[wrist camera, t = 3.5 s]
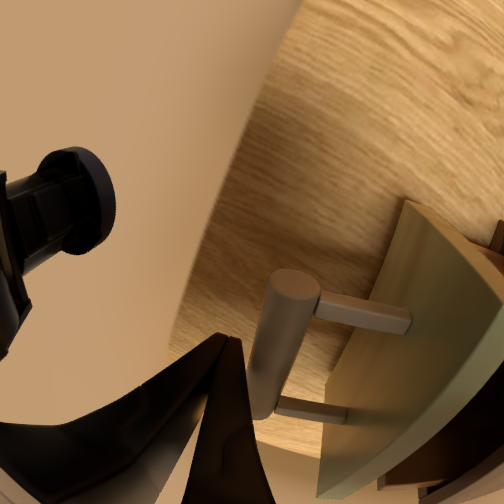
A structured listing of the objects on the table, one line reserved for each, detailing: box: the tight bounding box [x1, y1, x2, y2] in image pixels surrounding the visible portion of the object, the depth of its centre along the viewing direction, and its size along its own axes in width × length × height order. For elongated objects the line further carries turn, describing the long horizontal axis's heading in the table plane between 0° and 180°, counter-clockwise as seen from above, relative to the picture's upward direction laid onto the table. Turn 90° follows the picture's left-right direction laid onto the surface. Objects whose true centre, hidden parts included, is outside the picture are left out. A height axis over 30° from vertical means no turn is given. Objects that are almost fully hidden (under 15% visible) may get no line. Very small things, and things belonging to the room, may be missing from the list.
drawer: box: [246, 200, 504, 499], centre depth 8 cm, size 17×10×7 cm, turn 81°
